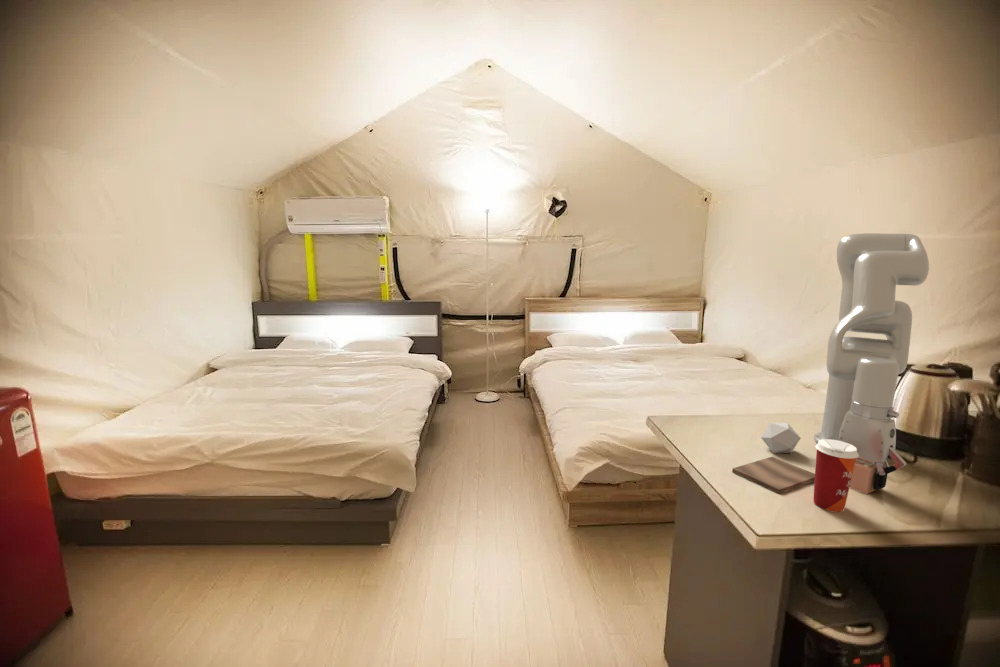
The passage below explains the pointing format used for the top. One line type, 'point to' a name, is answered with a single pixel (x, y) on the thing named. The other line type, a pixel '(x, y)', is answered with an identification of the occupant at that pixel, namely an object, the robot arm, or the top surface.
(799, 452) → the top surface
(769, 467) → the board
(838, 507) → the paper cup
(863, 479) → the lettered cube
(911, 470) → the top surface
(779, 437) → the die
